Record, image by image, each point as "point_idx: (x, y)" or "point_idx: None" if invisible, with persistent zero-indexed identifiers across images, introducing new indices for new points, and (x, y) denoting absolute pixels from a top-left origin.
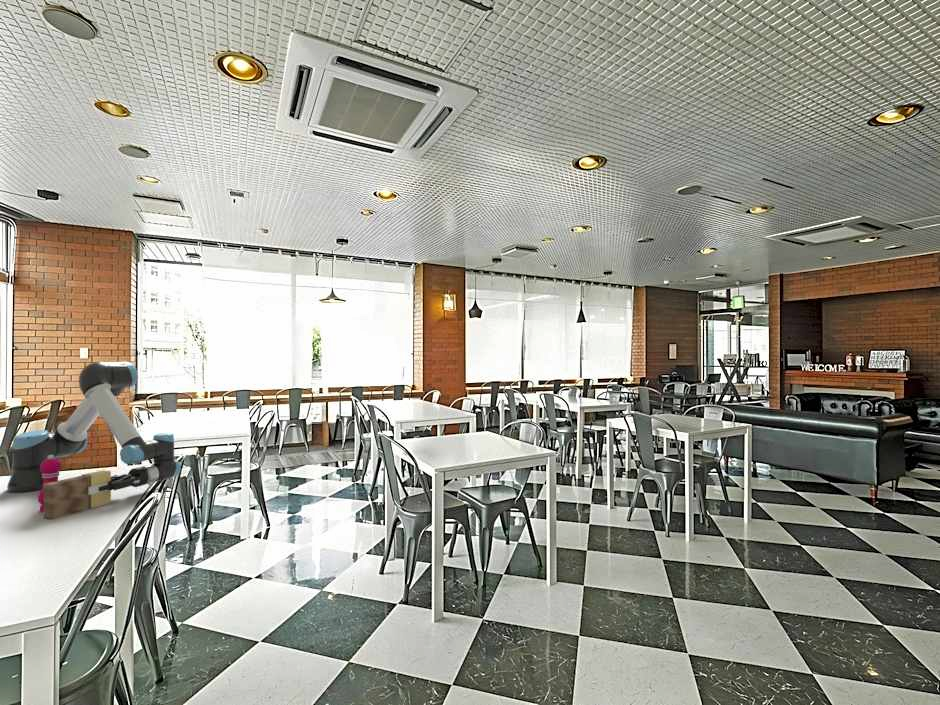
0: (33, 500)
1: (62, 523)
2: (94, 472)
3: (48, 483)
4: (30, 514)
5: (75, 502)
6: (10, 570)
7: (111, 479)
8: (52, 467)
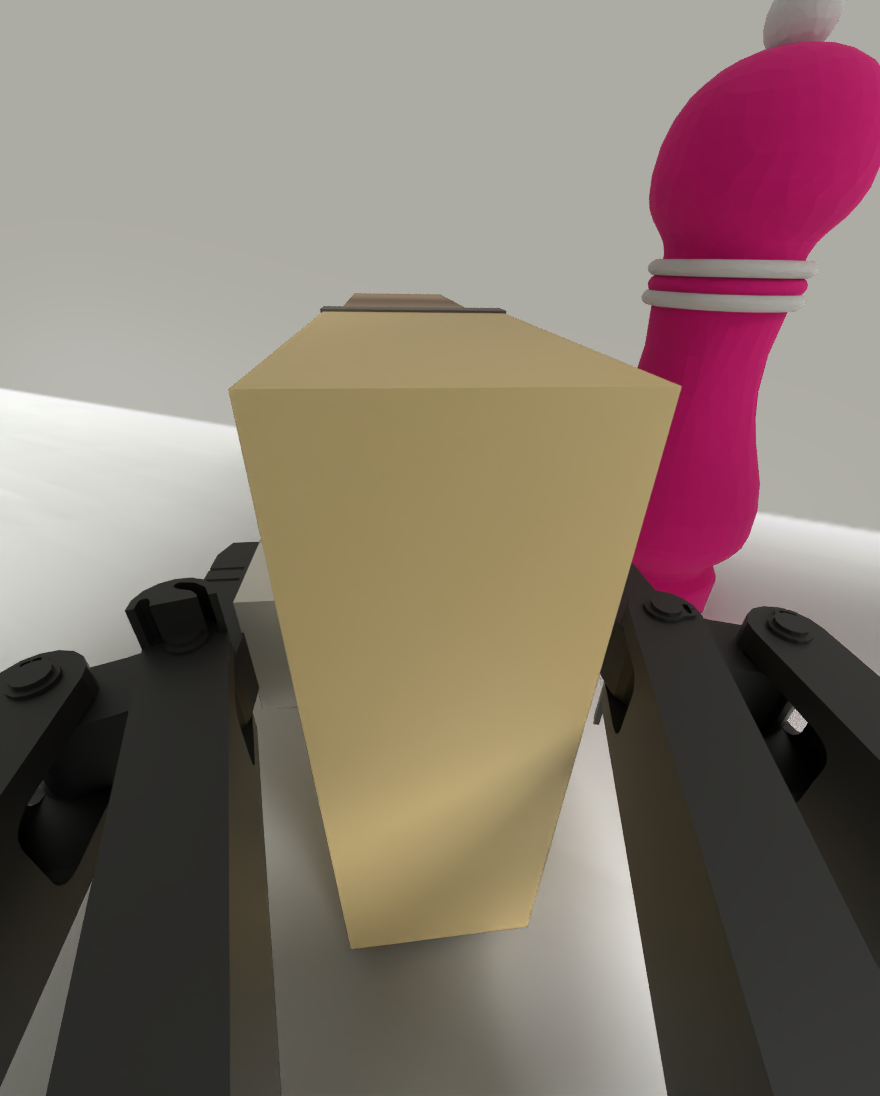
0: None
1: (249, 518)
2: (518, 334)
3: (422, 295)
4: None
5: None
6: (56, 399)
7: (734, 1000)
8: (655, 173)
